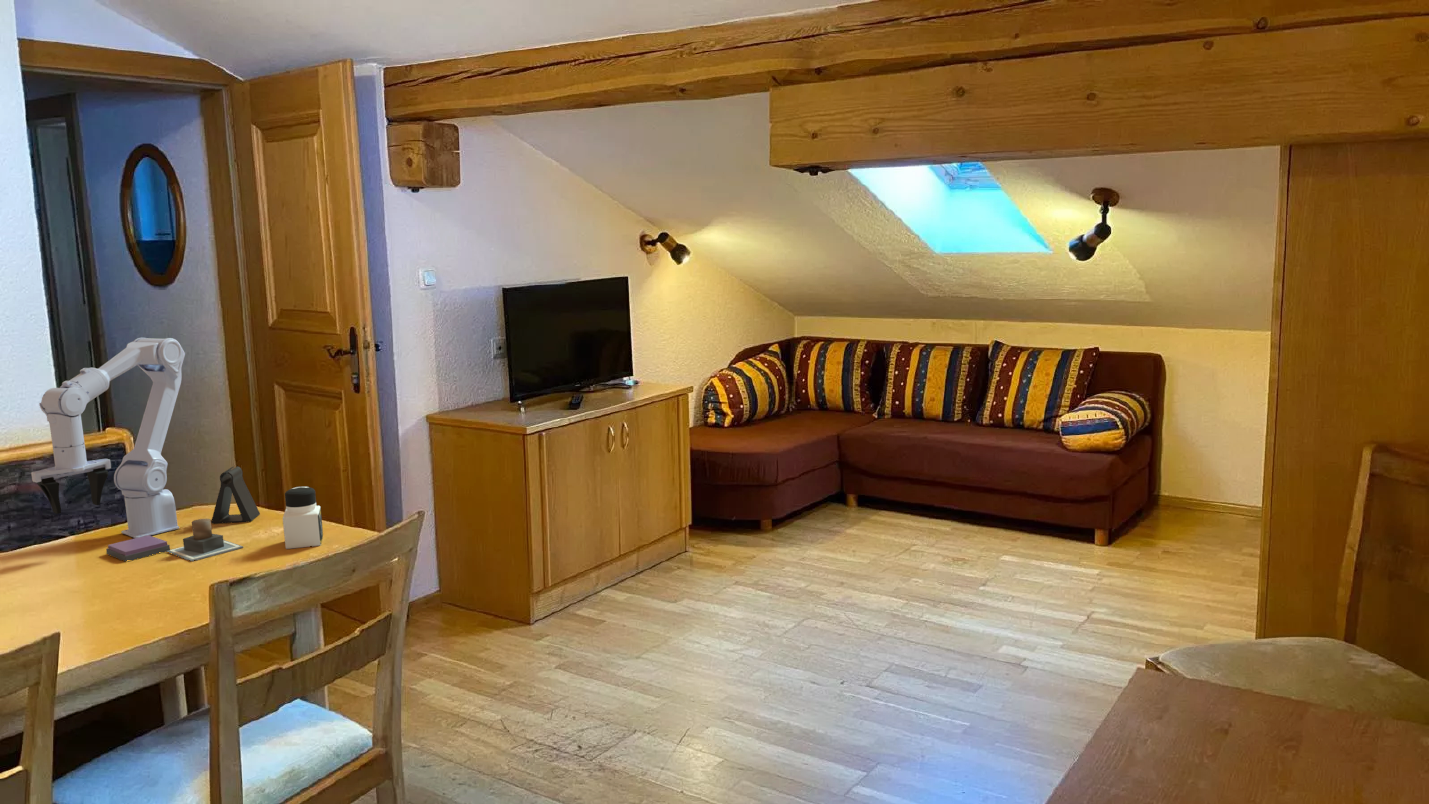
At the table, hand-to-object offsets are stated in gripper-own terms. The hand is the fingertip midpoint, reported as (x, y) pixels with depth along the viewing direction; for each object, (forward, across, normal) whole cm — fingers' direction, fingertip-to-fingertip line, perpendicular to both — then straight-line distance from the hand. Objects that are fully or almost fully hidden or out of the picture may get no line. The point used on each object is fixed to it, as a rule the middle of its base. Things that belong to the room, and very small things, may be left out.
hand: (77, 508), depth 225 cm
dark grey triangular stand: (+10, +32, -2) cm, 34 cm away
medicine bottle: (+10, +31, -33) cm, 47 cm away
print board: (+10, +16, -20) cm, 27 cm away
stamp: (+10, +16, -19) cm, 27 cm away
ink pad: (+10, +7, -9) cm, 15 cm away
